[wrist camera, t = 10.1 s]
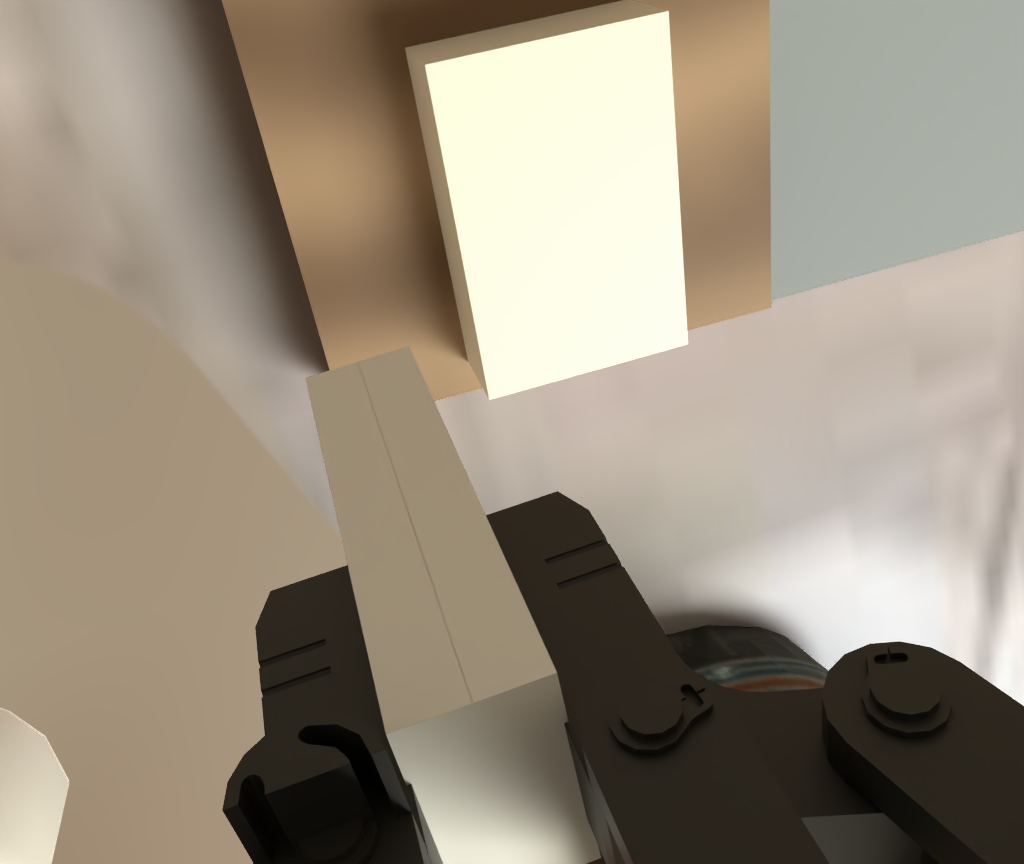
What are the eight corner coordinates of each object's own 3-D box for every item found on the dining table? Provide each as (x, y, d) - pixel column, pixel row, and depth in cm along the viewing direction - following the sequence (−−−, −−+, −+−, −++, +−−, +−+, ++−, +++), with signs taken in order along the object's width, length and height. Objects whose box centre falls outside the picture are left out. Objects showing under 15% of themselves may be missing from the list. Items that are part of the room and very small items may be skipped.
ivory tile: (404, 47, 24) (425, 65, 22) (629, -2, 25) (668, 10, 23) (467, 361, 29) (489, 399, 27) (653, 311, 30) (688, 344, 28)
